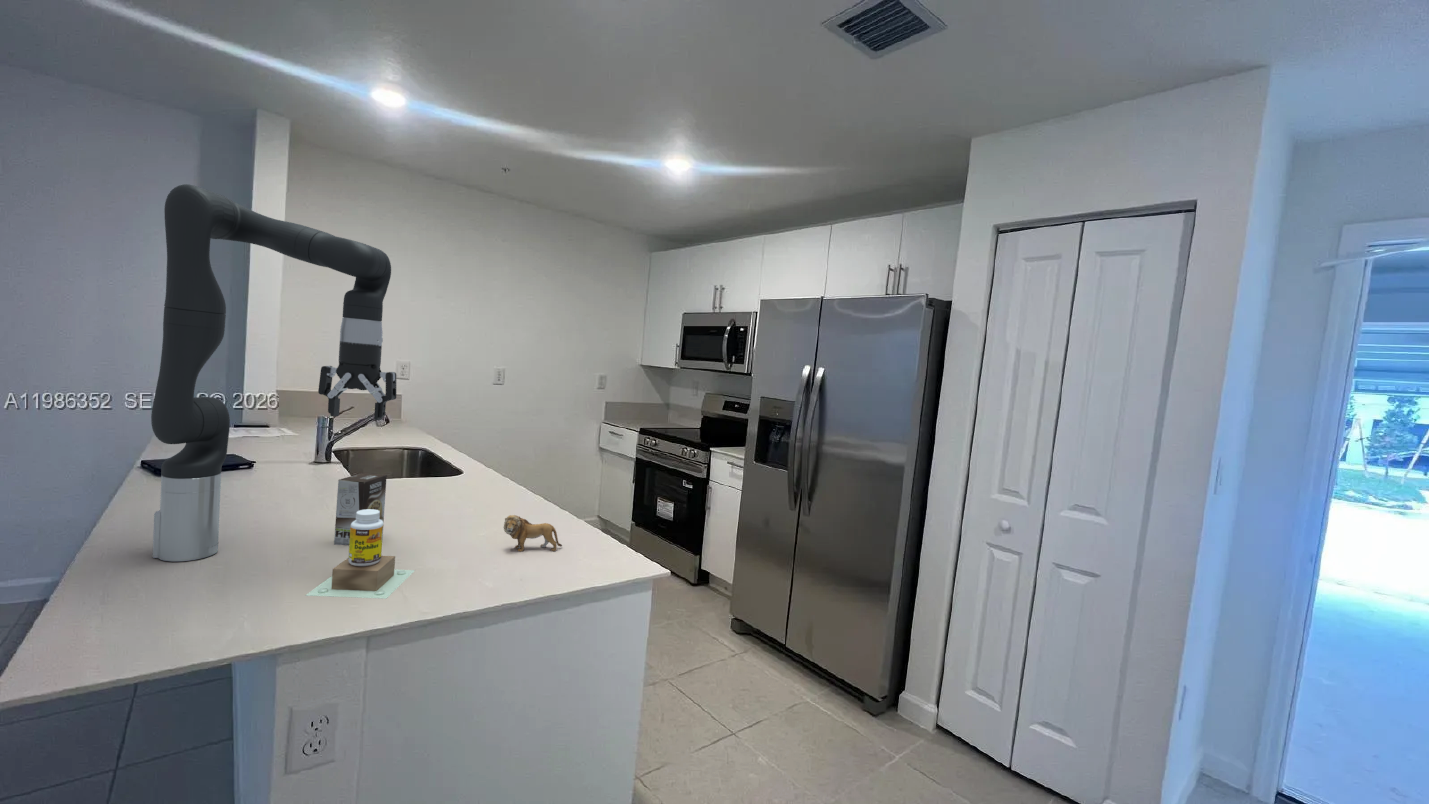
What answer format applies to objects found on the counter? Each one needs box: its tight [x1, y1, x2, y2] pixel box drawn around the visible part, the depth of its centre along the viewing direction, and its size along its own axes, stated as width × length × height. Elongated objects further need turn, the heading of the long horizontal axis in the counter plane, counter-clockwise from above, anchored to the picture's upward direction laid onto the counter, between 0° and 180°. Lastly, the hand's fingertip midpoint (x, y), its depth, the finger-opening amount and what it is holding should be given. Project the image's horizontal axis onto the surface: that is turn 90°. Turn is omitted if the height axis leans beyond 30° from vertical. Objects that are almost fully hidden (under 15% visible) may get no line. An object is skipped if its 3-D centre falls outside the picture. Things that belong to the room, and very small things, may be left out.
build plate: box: [304, 568, 416, 600], centre depth 112 cm, size 14×14×2 cm
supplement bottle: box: [347, 509, 385, 566], centre depth 111 cm, size 6×6×10 cm
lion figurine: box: [503, 514, 563, 553], centre depth 143 cm, size 15×5×9 cm, turn 116°
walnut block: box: [331, 555, 396, 591], centre depth 112 cm, size 8×8×4 cm
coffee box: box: [333, 472, 388, 546], centre depth 135 cm, size 9×6×16 cm
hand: (356, 417), depth 120 cm, fingers open, 8 cm apart
